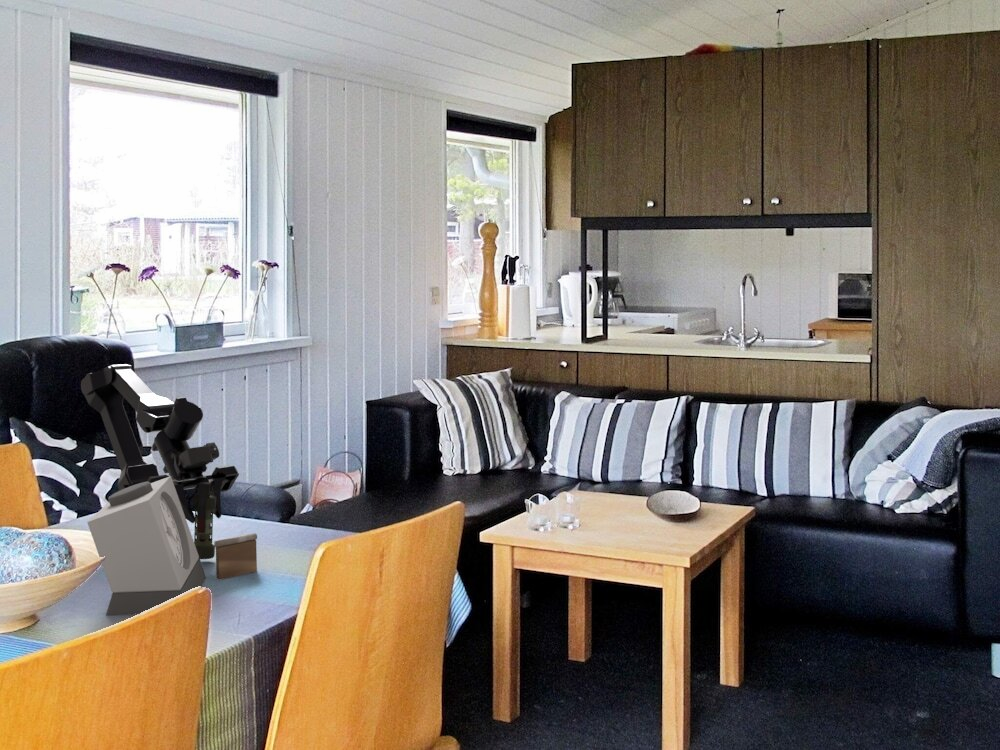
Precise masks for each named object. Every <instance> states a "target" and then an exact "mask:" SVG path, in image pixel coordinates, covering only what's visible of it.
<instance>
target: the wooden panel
mask: <svg viewBox="0 0 1000 750" xmlns="http://www.w3.org/2000/svg"><path fill="white" fill-rule="evenodd" d="M257 540H258V534H257V533H256V532H255V533H249V534H244V535H239V536H233V537H230V538H224V539H219V540H215V541H214V545H215V567H216V569H215V570H216V572H215V573H216V579H217V580H219V581H221V580H223V579H228V578H233V577H237V576H242V575H246V574H249V573H251V574H252V573H254V572H258V563H257V562H258V561H257V560H258V559H257V558H258V555H257V554H258V553H257Z"/></svg>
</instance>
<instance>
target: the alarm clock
mask: <svg viewBox="0 0 1000 750" xmlns="http://www.w3.org/2000/svg"><path fill="white" fill-rule="evenodd" d="M107 498H108V499H107V500H108V502H107V503H106V504H105V505H104V506H103V507H102V508H101V509H99V510H98V512H96V513H95V514H94V515H93V516H92V517H91V518H89V520H88V521H87V525H88V529H89V531H90V534H91V536H92V540H93V542H94V546H95V548H96V551H97V554H98V556H99V558H100V557H104V556H105V557H107V558H106V559H105V561H104V562H103V563H101V566H102V568H103V571H104V573H105V577H106V579H107V582H108V585H109V588H110V591H111V597H110V600H109V604H108V606H107V610H106V614H105V616H122V615H124V616H126V615H139V614H138V613H141V612H143V611H145V610H148V609H150V608H152V607H154V606H156V605H159V604H161V603H163V602H165V601H167V600H169V599H171V598H174V597H176V596H178V595H180V594H182V593H184V592H186V591H188V590H190V589H192V588H195V587H198V586H202V587H203V585H204V584H205V581H206V579H207V576H206V573H205V570H204V567H203V563H202V561H201V559H199V555H198V552H197V550H196V547H195V544H194V538H193V535H192V534H191V533H192V532H191V530H190V527H189V525H188V520H187V519H186V518H185V515H184V512H183V509H182V507H181V504H180V501H179V498H178V495H177V492H176V489H175V486H174V484H173V481H172V478H171V476H170V475H169V477H167V478H164V479H161V480H159V481H156V482H153V483H150V482H142V483H139V484H135V485H132V486H130V487H127V488H125V489H122V490H120V491H118V490H117V491H116V492H114V493H112V494H111V495H109V496H108V497H107ZM135 613H136V614H135Z"/></svg>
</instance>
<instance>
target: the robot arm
mask: <svg viewBox="0 0 1000 750" xmlns="http://www.w3.org/2000/svg"><path fill="white" fill-rule="evenodd" d="M80 389H81V390H80V391H81V393H82V395H84V397H85V399H86V401H87V403H88V405H89V406H90V407H91V408H93V409H94V410H95V411H97V412H98V413H99V414H100V415H101V418H102V421H103V424H104V427H105V431H106V433H107V435H108V439H109V441H110V443H111V447H112V450H113V452H114V454H115V457H116V461H117V463H118V466H119V468H120V475H119V478H118V481H117V488H118V490H117V492H118V491H120V490H122V489H125V488H127V487H130V486H132V485H135V484H139V483H142V482H150V483H153V482H156V481H159V480H161V479H164V478H167V477H170V476H171V478H172V481H173V484H174V486H175V489H176V492H177V495H178V498H179V501H180V504H181V507H182V509H183V512H184V515H185V518H186V521H187V522H190V523H191V524H195V520H196V519H195V512H193V508H192V507H191V506H190V505H189V503H188V501H189V500H187V499H186V497H187V496H186V495H185V490H191V489H192V490H193V489H194V488H195V487H196V486H197V485H199V483H200V482H211V483H212V484H213V486H211V485H210V486H211V487H212V489H211V488H210V489H211V490H213V491H215V492H217V493H218V494H217V493H215V492H212V491H210V495H214V496H216V508H215V509H213V515H214V516H215V517H216V518H217V519H221V517H222V505H221V503H222V502H221V493H223V492H224V493H225V492H228V491H229V490H231V488H232V487H233V485H234V484H235V482H236V481H237V478H238V477H239V475H240V472H238V469H237V468H236V467H235V465H232V464H229V465H223V466H221V465H220V466H215V468H214V470H213V472H212V473H211V474H210V475H203V473H206V471H207V470H208V467H207V465H209V464H211V463H212V464H213V463H214V460H216V459H218V458H219V457H220V451H219V447H218V446H217V444H216V443H215V441H213V442H208V443H206V444H203V445H202V446H197V447H196V446H195V447H190V444H189V443H188V440H190V439H192V438H193V435H194V434H195V432H196V430H197V429H198V427H199V425H200V423H202V422H201V421H202V419H203V418H204V413H203V410H202V408H201V407H199V406H198V405H197V404H195V403H194V402H192V401H188V400H187V397H184V396H183V397H176V398H175V400H174V402H173V401H171V400H170V399H169V398H167V397H164V396H160V395H157V394H155V392H153V391H152V390H151V389H150V388H149V387H148V385H147V384H146V383H145V382H144V381H143V380H142V379H141V377H139V376H138V375H137V373H135V371H134V368H133V367H132V365H131V364H127V363H124V364H110V365H108V366H106V367H104V368H103V369H100V370H97V371H94V372H88V373H86V375H85V377H84V378H82V380H81V381H80ZM124 399H125V400H126V402H127V403H128V404H129V405H131V407H132V408H133V409H134V410H135V412H136V416H135V417H136V418H135V421H136V422H137V424H138V425H139V427H140V428H141V430H142V431H143V432H144V433H146V434H147V433H150V434H151V433H157V432H158V433H157V434H156V436H155V437H154V440H153V443H152V445H151V451H152V452H158V453H159V456H160V458H161V459H162V461H163V464H164V466H163V469H162V470H163V473H164V474H159V471H158V468H157V466H156V464H155V463H146V462H145V460H144V458H143V455H142V453H141V451H140V447H139V444H138V441H137V440H136V437H135V434H134V431H133V429H132V426H131V423H130V420H129V418H128V415H127V413H126V409H125V407H124V405H123V404H124ZM167 474H168V475H167Z"/></svg>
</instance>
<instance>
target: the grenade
mask: <svg viewBox="0 0 1000 750" xmlns="http://www.w3.org/2000/svg"><path fill="white" fill-rule="evenodd" d="M210 485H211V486H213V484H212V483H211V482H200V483H199V485H197V486H196V487H195V488H192V490H191V491H190V493H187V494H186V496H185V497H186V499H187V501H188V503H189V505H190V507H191V508H192V509H194V516H195V519H196V520H195V522H194V533H193V534H194V535H193V537H194V538H193V541H194V544H195V547H196V550H197V552H198V555H199V559H200V560H211V559H213V558H214V557H215V556H216V547H215V545H214V544H213V531H214V530H213V529H214V513H213V509H215V508H216V496H214V495H210V491H212V492H215V491H213V490H211V489H212V487H211V486H210ZM210 488H211V489H210ZM215 493H217V492H215ZM217 494H218V493H217ZM191 500H192V503H191Z"/></svg>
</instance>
